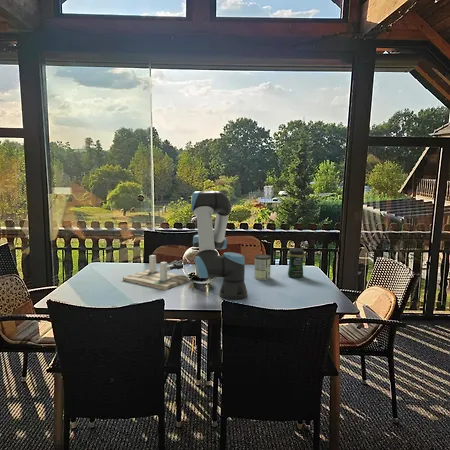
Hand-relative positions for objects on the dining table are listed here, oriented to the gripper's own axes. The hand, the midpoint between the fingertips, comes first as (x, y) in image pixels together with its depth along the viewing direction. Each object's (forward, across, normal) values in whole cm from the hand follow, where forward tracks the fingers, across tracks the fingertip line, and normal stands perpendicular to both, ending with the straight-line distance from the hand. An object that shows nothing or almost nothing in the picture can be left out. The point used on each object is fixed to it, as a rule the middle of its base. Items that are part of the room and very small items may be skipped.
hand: (165, 269), depth 238 cm
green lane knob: (+2, 0, -7) cm, 7 cm away
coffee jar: (-60, -58, -9) cm, 84 cm away
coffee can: (-45, -42, -9) cm, 62 cm away
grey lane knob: (-8, +18, -7) cm, 21 cm away
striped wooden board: (-2, +9, -9) cm, 13 cm away
